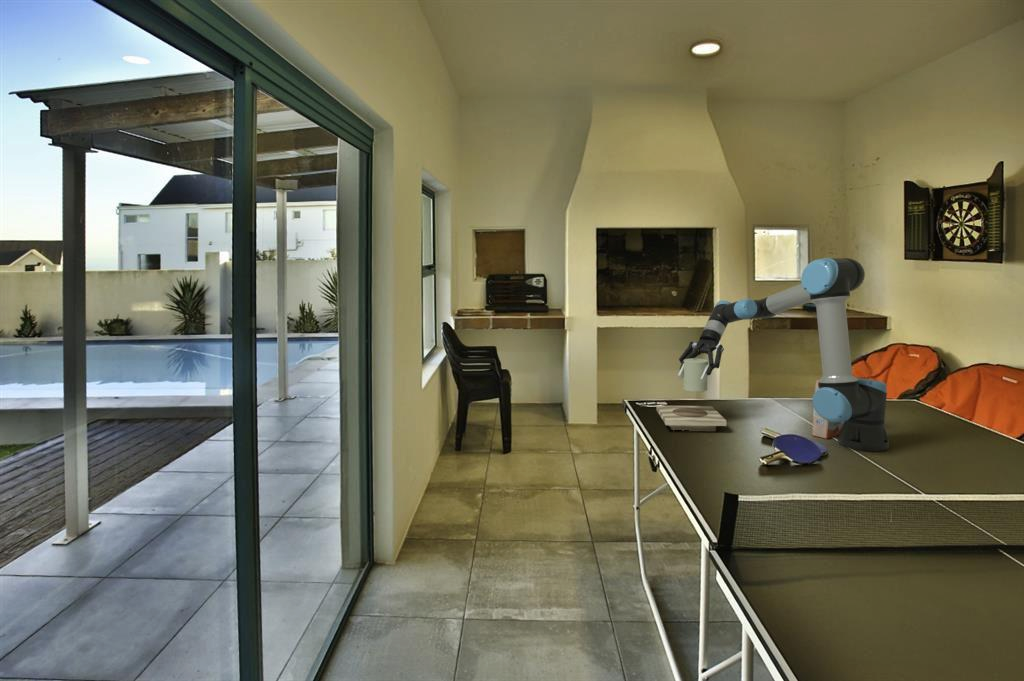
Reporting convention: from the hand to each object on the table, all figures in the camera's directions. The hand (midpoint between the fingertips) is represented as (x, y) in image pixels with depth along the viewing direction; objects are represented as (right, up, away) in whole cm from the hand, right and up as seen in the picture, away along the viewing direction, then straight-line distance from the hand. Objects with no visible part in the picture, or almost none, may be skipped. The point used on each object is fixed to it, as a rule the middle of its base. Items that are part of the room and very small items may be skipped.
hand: (691, 379), depth 222 cm
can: (+2, -4, +3) cm, 6 cm away
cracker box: (+47, -20, -11) cm, 52 cm away
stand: (0, -18, +3) cm, 19 cm away
